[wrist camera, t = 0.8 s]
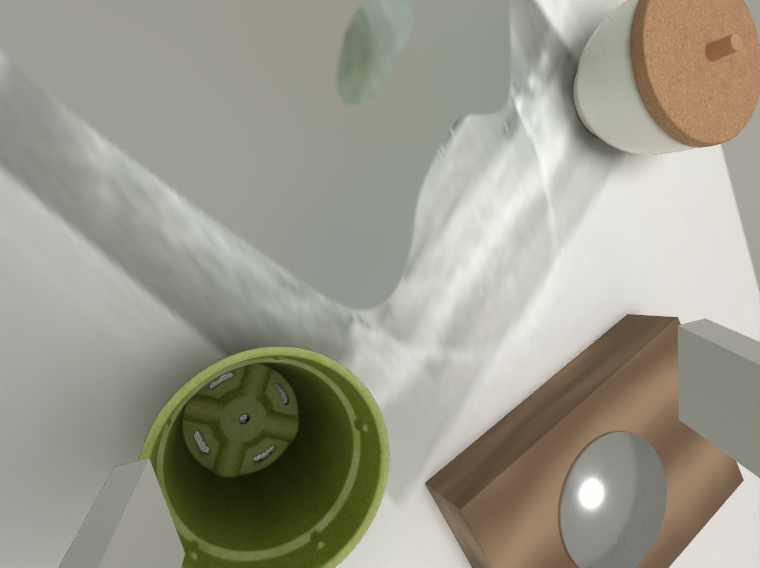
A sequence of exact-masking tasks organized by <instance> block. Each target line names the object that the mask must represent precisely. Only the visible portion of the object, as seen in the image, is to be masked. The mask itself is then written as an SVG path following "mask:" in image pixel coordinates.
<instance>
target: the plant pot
mask: <svg viewBox="0 0 760 568" xmlns="http://www.w3.org/2000/svg"><path fill="white" fill-rule="evenodd" d="M230 372H232V373H233V374H234V377H233V378H231V379H228V380H226V381H224V382H222V383H221V384H219V385H218V386H216V387H215V388H214V389H210V388H209V387H210V384H211V383H212V382H214V381H216V380H218V379H219V378H220V377H221V376H222V375H224V374H227V373H230ZM275 383H276V384H279V385H280V386H281V387H282V388H283V389H284V390H285V392H286V393H287V396H288V398H289V401H288V405H286V406H285V405H284V404H283V402H282V399H281V397H280V394H279V393H278V391H277V390H276V389H277V388H276V387H275V386H274V384H275ZM244 414H246V415H248V416H249V421H248V422H247V423H245V424H241V423H240V422H239V418H240V416H242V415H244ZM196 431H200V433H201V436H202V438H203V440H204V443H205V444H206V445H207V447H209V449H210V454H205V453H203V452H201V451H200V449H199V446H198V445H197V443H196V441H195V438H194V434H195V432H196ZM273 445H275V451H274V452H273V453H272V454H270V455H269V456H268V457H266V458H265V459H264V460H261V461H259V462H254V461H253V458H254V457H256V456H257V455H260V454H262V453H264V452H265V451H267V450H269V448H270V447H272V446H273ZM148 458H149V459H150V462H151V464H152V467H153V470H154V472H155V475H156V478H157V480H158V483H159V486H160V488H161V491H162V494H163V496H164V499H165V501H166V504H167V507H168V509H169V512H170V515H171V517H172V520H173V523H174V525H175V528H176V531H177V533H178V536H179V539H180V541H181V544H182V546H183V549H184V552H185V556H184V560H183V563H182V567H181V568H335V567H336V566H337V565H338V564H340V563H341V562H342V561H343V560H344V559H345V558H346V557H347V556H348V555H349V554H350V553H351V552H352V550H353V549H354V548H355V547H356V545H357V544H358V543H359V541H360V540H361V539H362V537H363V536H364V534H365V533H366V531H367V530H368V528H369V526H370V524H371V523H372V521H373V519H374V517H375V515H376V512H377V510H378V508H379V505H380V503H381V500H382V497H383V494H384V490H385V486H386V482H387V476H388V468H389V444H388V436H387V431H386V428H385V424H384V420H383V417H382V415H381V412H380V409H379V407H378V405H377V403H376V402H375V400H374V398H373V397H372V395H371V394H370V392H369V391H368V389H367V388H366V387H365V385H364V384H363V383H362V382H361V381H360V380H359V379H358V378H357V377H356V376H355V375H354V374H353V373H352V372H350V371H349V370H348V369H347V368H345V367H344V366H342V365H341V364H339V363H338V362H336V361H334V360H333V359H331V358H329V357H327V356H325V355H322V354H319V353H316V352H313V351H309V350H305V349H301V348H295V347H281V346H273V347H261V348H255V349H251V350H247V351H242V352H239V353H236V354H234V355H231V356H228V357H226V358H224V359H221V360H219V361H217V362H215V363H213V364H212V365H210V366H208V367H207V368H205V369H204V370H202V371H201V372H199V373H198V374H196V375H195V376H194V377H192V378H191V379H190V380H189V381H187V382H186V383H185V384H184V385H183V386H182V387H181V388H180V389H179V390H178V391H177V392H176V393H175V394H174V395H173V396H172V397H171V398H170V399H169V401H168V402H167V403H166V405H165V406H164V407H163V409H162V410H161V411H160V413H159V414H158V416H157V417H156V419H155V421H154V423H153V424H152V426H151V428H150V430H149V432H148V434H147V436H146V439H145V441H144V444H143V447H142V450H141V453H140V456H139V459H138V461H140V460H144V459H148Z"/></svg>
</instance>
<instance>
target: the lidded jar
mask: <svg viewBox="0 0 760 568" xmlns="http://www.w3.org/2000/svg"><path fill="white" fill-rule="evenodd" d="M759 94H760V44H759V39H758V34H757V31H756V28H755V25H754V22H753V19H752V17H751V14H750V12H749V10H748V7H747V6H746V4H745V2H744V0H626V1H625V2H623V3H622V4H621V5H620V6H618V7H617V8H616V9H615V10H614V11H612V12H611V13H610V14H609V15H608V16H607V17H606V18H605V19H604V20H603V21H602V23H601V24H600V25H599V26H598V27H597V29H596V30H595V31H594V33H593V34H592V35H591V37H590V39H589V40H588V42H587V44H586V46H585V48H584V50H583V53H582V55H581V58H580V61H579V65H578V70H577V73H576V75H575V78H574V83H573V100H574V105H575V109H576V112H577V114H578V116H579V118H580V120H581V122H582V123H583V125H584V126H585V127H586V128H587V129H588V131H589V132H591V133H592V134H593V135H595V136H597V137H599V138H600V139H602V140H603V141H604V142H606V143H607V144H609V145H610V146H612V147H614V148H617V149H619V150H622V151H625V152H628V153H634V154H642V155H658V154H667V153H675V152H681V151H685V150H690V149H694V148H698V147H699V148H700V147H708V146H714V145H718V144H721V143H724V142H726V141H729V140H731V139H732V138H734V137H735V136H736V135H738V134H739V132H740V131H741V130H742V129H743V128H744V127H745V126H746V125H747V123H748V122H749V120H750V118H751V117H752V115H753V112H754V110H755V108H756V105H757V102H758V98H759Z"/></svg>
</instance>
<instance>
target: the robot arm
mask: <svg viewBox="0 0 760 568" xmlns="http://www.w3.org/2000/svg"><path fill="white" fill-rule="evenodd" d="M678 383H679V420H680V421H682V422H683V423H684V424H686V425H687V426H689V427H690V428H691V429H693V430H694V431H695V432H697V433H698V434H700V435H701V436H702V437H704V438H705V439H706V440H708V441H709V442H711V443H712V444H713V445H715V446H716V447H718V448H719V449H720V450H722V451H723V452H724V453H726V454H727V455H729V456H730V457H731V458H733V459H734V460H735V461H737V462H738V463H740V464H741V465H742V466H744V467H745V468H746V469H748V470H749V471H751V472H752V473H753V474H755V475H756V476H758V477H759V478H760V342H758V341H756V340H754V339H751V338H749V337H747V336H744V335H742V334H740V333H738V332H735V331H733V330H731V329H728V328H726V327H724V326H721V325H719V324H717V323H714V322H712V321H710V320H707V319H702V320H698V321H694V322H690V323H686V324H682V325H678ZM184 556H185V552H184V549H183V546H182V544H181V541H180V539H179V536H178V533H177V531H176V528H175V525H174V523H173V520H172V517H171V515H170V512H169V509H168V507H167V504H166V501H165V499H164V496H163V494H162V491H161V488H160V486H159V483H158V480H157V478H156V475H155V472H154V470H153V467H152V464H151V462H150V459H149V458H148V459H144V460H140V461H136V462H132V463H128V464H124V465H120V466H116V467H114V469H113V470H112V472H111V474H110V476H109V478H108V479H107V481H106V483H105V485H104V487H103V488H102V490H101V492H100V494H99V496H98V497H97V499H96V501H95V503H94V505H93V506H92V508H91V510H90V512H89V514H88V515H87V517H86V519H85V521H84V523H83V524H82V526H81V528H80V530H79V532H78V533H77V535H76V537H75V539H74V541H73V542H72V544H71V546H70V548H69V550H68V551H67V553H66V555H65V557H64V559H63V560H62V562H61V564H60V566H59V568H181V567H182V563H183V560H184Z"/></svg>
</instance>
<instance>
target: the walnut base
mask: <svg viewBox="0 0 760 568" xmlns="http://www.w3.org/2000/svg"><path fill="white" fill-rule="evenodd" d="M678 325H681V324H680V321H679V319H678V317H664V316H647V315H630V314H628V315H627V316H626V317H624V318H623V319H622V320H621V321H620V322H618V323H617V324H616V325H615V326H614V327H612V328H611V329H610V330H609V331H608V332H606V333H605V334H604V335H603V336H602V337H600V338H599V339H598V340H597V341H596V342H594V343H593V344H592V345H591V346H590V347H588V348H587V349H586V350H585V351H584V352H582V353H581V354H580V355H579V356H578V357H576V358H575V359H574V360H573V361H572V362H570V363H569V364H568V365H567V366H566V367H564V368H563V369H562V370H561V371H560V372H558V373H557V374H556V375H555V376H554V377H552V378H551V379H550V380H549V381H548V382H546V383H545V384H544V385H543V386H542V387H540V388H539V389H538V390H537V391H536V392H534V393H533V394H532V395H531V396H530V397H528V398H527V399H526V400H525V401H524V402H522V403H521V404H520V405H519V406H518V407H516V408H515V409H514V410H513V411H512V412H510V413H509V414H508V415H507V416H506V417H504V418H503V419H502V420H501V421H500V422H498V423H497V424H496V425H495V426H494V427H492V428H491V429H490V430H489V431H488V432H486V433H485V434H484V435H483V436H482V437H480V438H479V439H478V440H477V441H476V442H474V443H473V444H472V445H471V446H470V447H468V448H467V449H466V450H465V451H464V452H462V453H461V454H460V455H459V456H458V457H456V458H455V459H454V460H453V461H452V462H450V463H449V464H448V465H447V466H446V467H444V468H443V469H442V470H441V471H440V472H438V473H437V474H436V475H435V476H434V477H432V478H431V479H430V480H429V481H428V482H426V483H425V484H426V485H427V487H428V489H429V491H430V493H431V494H432V496H433V498H434V500H435V502H436V503H437V505H438V507H439V509H440V510H441V512H442V514H443V516H444V518H445V519H446V521H447V523H448V525H449V527H450V528H451V530H452V532H453V534H454V535H455V537H456V539H457V541H458V543H459V544H460V546H461V548H462V550H463V552H464V553H465V555H466V557H467V559H468V561H469V562H470V564H471V566H472V568H669V567H670V565H671V564H672V563H673V562H674V561H675V560H676V558H677V557H678V556H679V555H680V554H681V553H682V551H683V550H684V549H685V548H686V547H687V546H688V544H689V543H690V542H691V541H692V540H693V539H694V538H695V536H696V535H697V534H698V533H699V532H700V531H701V529H702V528H703V527H704V526H705V525H706V524H707V522H708V521H709V520H710V519H711V518H712V517H713V515H714V514H715V513H716V512H717V511H718V510H719V508H720V507H721V506H722V505H723V504H724V503H725V501H726V500H727V499H728V498H729V497H730V496H731V494H732V493H733V492H734V491H735V490H736V489H737V487H738V486H739V485H740V484H741V483H742V482H743V477H742V475H741V472H740V470H739V467H738V465H737V462H736V461H735V460H734V459H733V458H731V457H730V456H729V455H727V454H726V453H724V452H723V451H722V450H720V449H719V448H718V447H716V446H715V445H713V444H712V443H711V442H709V441H708V440H706V439H705V438H704V437H702V436H701V435H700V434H698V433H697V432H695V431H694V430H693V429H691V428H690V427H689V426H687V425H686V424H684V423H683V422H682V421H680V420H679V383H678Z"/></svg>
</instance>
